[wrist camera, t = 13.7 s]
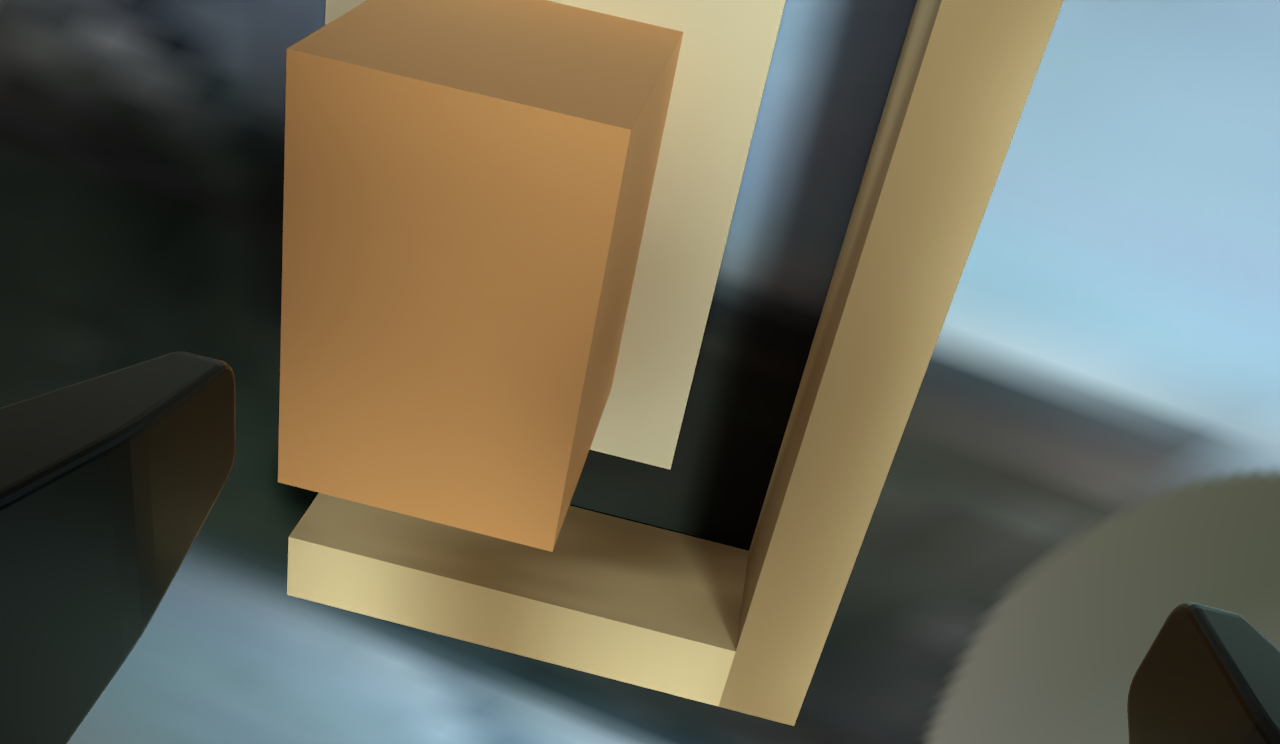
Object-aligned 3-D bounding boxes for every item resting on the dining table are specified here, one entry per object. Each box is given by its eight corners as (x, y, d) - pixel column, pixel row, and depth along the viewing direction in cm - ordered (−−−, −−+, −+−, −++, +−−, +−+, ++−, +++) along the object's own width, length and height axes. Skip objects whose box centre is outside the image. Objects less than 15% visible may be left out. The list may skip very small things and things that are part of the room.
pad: (796, -45, 18) (795, -42, 18) (672, 461, 23) (670, 469, 23) (339, -150, 18) (331, -147, 18) (317, 372, 24) (311, 379, 23)
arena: (1077, -169, 17) (1117, -146, 14) (800, 620, 25) (794, 725, 22) (394, -319, 17) (312, -322, 14) (345, 503, 25) (287, 594, 23)
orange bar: (611, 389, 22) (552, 552, 18) (388, 334, 22) (278, 482, 18) (683, 31, 19) (631, 130, 14) (416, -30, 19) (286, 48, 15)
